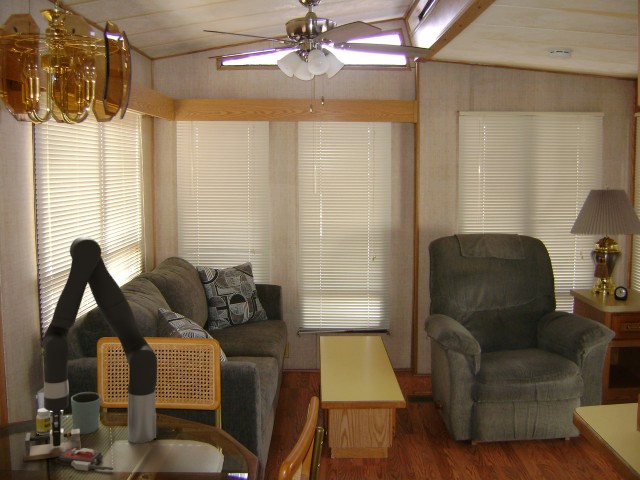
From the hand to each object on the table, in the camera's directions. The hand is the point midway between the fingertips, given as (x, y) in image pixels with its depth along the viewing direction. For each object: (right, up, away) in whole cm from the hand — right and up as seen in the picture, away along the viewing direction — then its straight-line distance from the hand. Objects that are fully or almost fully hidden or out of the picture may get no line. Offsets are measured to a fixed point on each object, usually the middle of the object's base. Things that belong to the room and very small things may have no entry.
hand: (56, 442), depth 207 cm
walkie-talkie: (+13, -5, -6) cm, 15 cm away
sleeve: (0, +1, 0) cm, 1 cm away
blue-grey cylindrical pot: (+3, -1, +19) cm, 19 cm away
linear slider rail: (-1, -3, 0) cm, 3 cm away
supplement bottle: (-11, -1, +14) cm, 18 cm away
